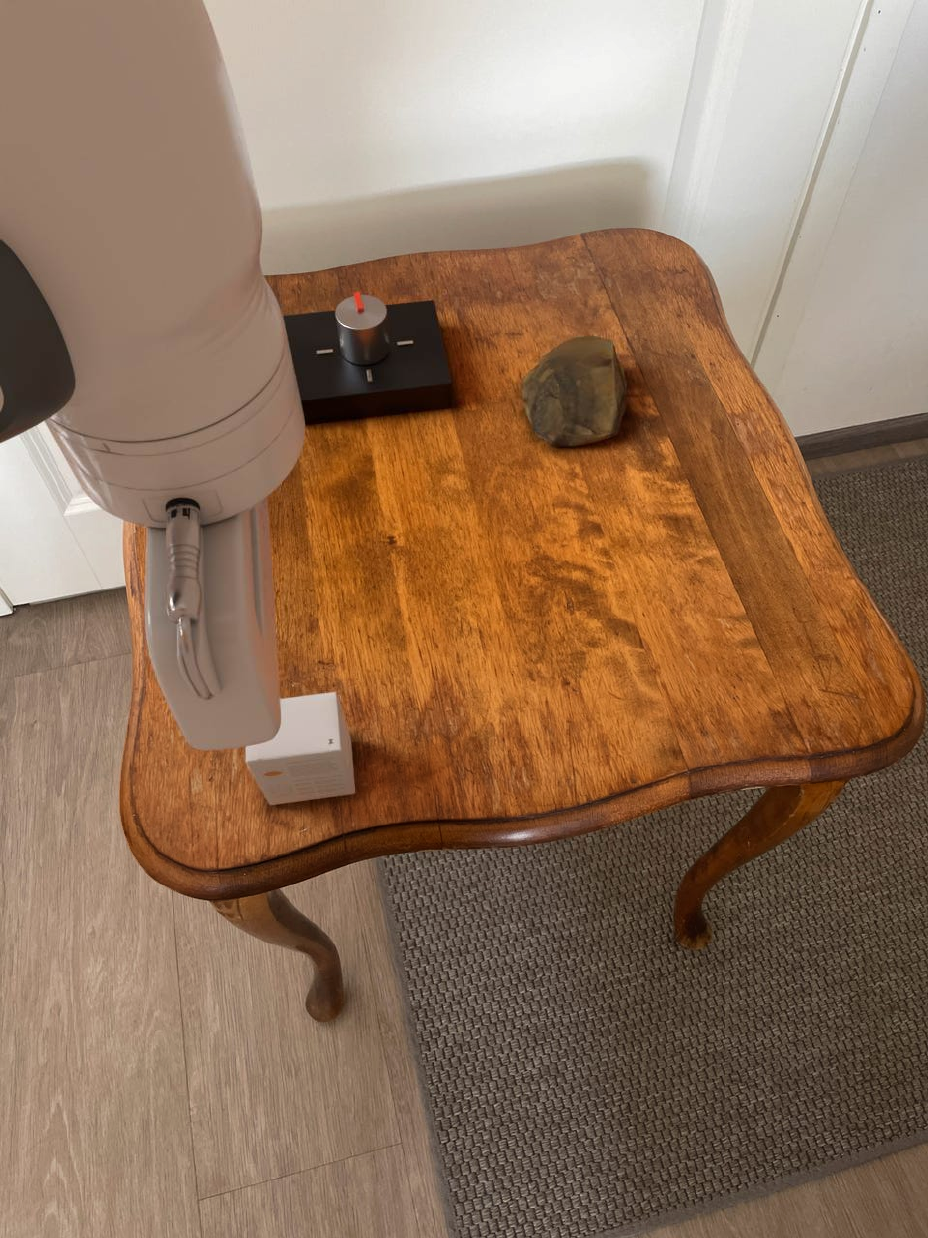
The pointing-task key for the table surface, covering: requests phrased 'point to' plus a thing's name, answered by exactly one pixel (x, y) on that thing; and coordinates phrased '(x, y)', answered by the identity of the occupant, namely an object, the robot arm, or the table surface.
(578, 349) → the decorative stone
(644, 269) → the table surface
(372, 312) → the dial
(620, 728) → the table surface
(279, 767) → the small box
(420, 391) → the panel
